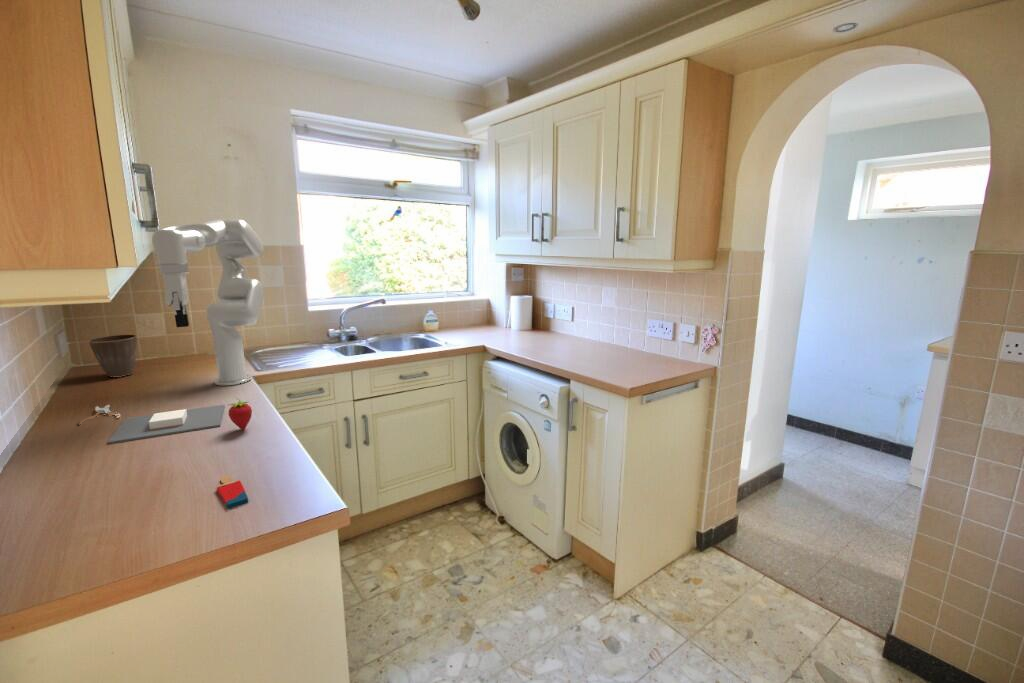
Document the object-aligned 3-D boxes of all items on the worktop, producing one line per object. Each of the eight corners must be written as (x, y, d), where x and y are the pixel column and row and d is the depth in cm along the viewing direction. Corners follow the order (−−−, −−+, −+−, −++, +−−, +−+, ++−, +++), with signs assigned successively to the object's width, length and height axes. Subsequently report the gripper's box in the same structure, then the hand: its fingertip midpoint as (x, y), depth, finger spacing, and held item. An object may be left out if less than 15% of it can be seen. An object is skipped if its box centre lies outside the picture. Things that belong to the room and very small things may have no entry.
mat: (126, 419, 143) (126, 418, 143) (224, 406, 155) (224, 404, 155) (108, 444, 126) (107, 442, 126) (220, 426, 138) (219, 424, 137)
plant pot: (95, 383, 181) (87, 343, 178) (97, 375, 193) (89, 337, 189) (143, 376, 191) (136, 338, 187) (142, 369, 202) (136, 333, 199)
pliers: (76, 422, 138) (82, 408, 150) (77, 427, 138) (83, 413, 150) (119, 415, 144) (121, 402, 156) (120, 419, 144) (122, 406, 156)
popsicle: (235, 471, 108) (250, 497, 97) (236, 477, 108) (250, 503, 97) (212, 477, 105) (225, 505, 94) (213, 483, 106) (226, 511, 94)
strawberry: (231, 436, 130) (226, 402, 128) (230, 427, 137) (226, 395, 135) (254, 431, 133) (250, 399, 131) (253, 423, 140) (249, 391, 138)
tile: (154, 413, 140) (148, 422, 133) (186, 409, 144) (182, 417, 137) (155, 420, 141) (150, 430, 134) (187, 416, 144) (183, 425, 137)
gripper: (163, 268, 151) (172, 324, 155) (154, 271, 138) (164, 331, 142) (191, 268, 155) (199, 322, 159) (184, 270, 142) (193, 329, 146)
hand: (182, 326), depth 150 cm, fingers closed
